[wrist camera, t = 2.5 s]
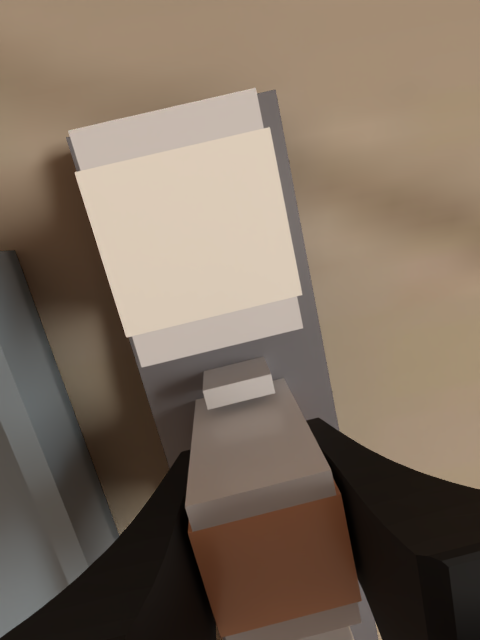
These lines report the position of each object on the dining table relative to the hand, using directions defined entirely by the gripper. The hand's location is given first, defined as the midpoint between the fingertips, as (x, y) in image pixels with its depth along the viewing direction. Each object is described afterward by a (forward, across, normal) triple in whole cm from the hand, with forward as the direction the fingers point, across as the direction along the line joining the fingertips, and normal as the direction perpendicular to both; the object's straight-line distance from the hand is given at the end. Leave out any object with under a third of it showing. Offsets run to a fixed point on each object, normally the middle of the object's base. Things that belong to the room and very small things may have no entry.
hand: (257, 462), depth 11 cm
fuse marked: (+1, 0, 0) cm, 1 cm away
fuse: (+1, 0, -7) cm, 7 cm away
